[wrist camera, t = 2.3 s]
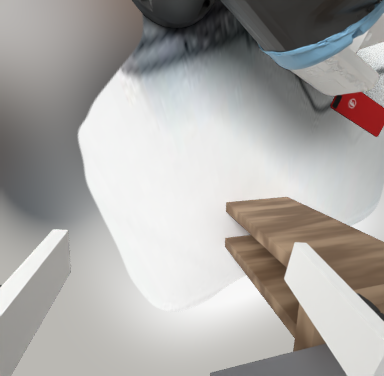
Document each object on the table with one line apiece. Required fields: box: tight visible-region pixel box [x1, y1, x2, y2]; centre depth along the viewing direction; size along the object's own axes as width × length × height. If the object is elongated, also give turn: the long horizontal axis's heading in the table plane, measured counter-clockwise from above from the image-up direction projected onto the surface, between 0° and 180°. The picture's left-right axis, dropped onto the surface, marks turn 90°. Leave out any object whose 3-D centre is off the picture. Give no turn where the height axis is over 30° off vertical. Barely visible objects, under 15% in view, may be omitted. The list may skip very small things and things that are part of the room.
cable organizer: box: [291, 13, 384, 96], centre depth 40 cm, size 15×11×12 cm
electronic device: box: [331, 92, 384, 137], centre depth 51 cm, size 6×1×15 cm
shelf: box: [225, 197, 384, 352], centre depth 37 cm, size 10×20×30 cm, turn 90°
